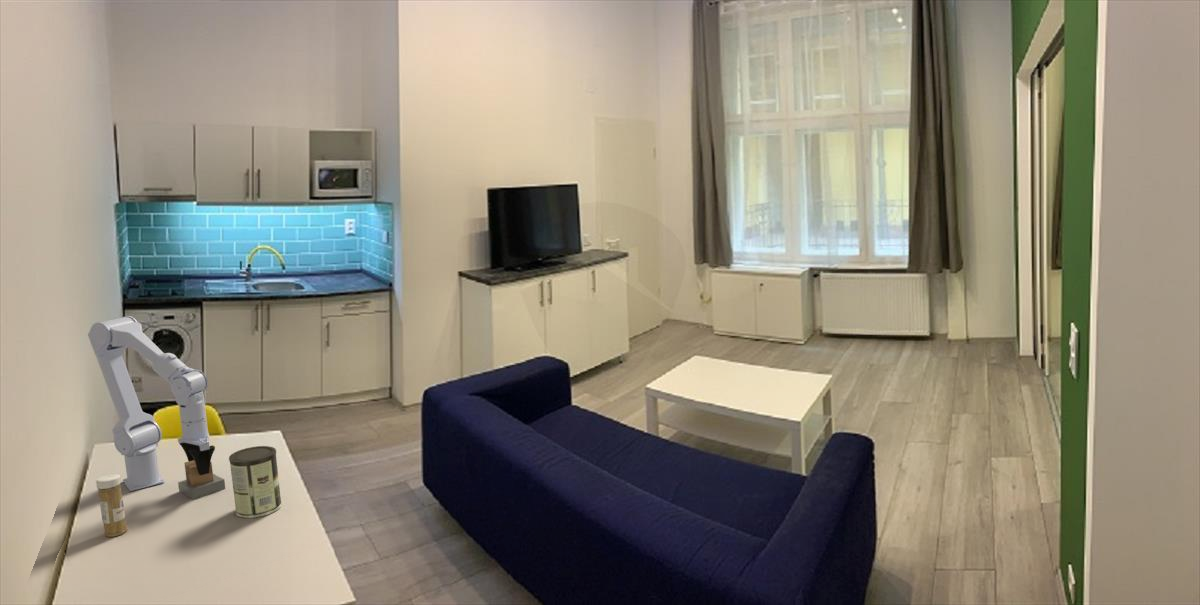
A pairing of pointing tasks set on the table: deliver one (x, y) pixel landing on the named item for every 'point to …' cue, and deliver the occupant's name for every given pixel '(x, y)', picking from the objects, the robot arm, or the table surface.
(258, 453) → the coffee can
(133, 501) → the table surface
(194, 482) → the walnut cube
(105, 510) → the sprinkles bottle
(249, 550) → the table surface
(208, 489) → the slate slab
